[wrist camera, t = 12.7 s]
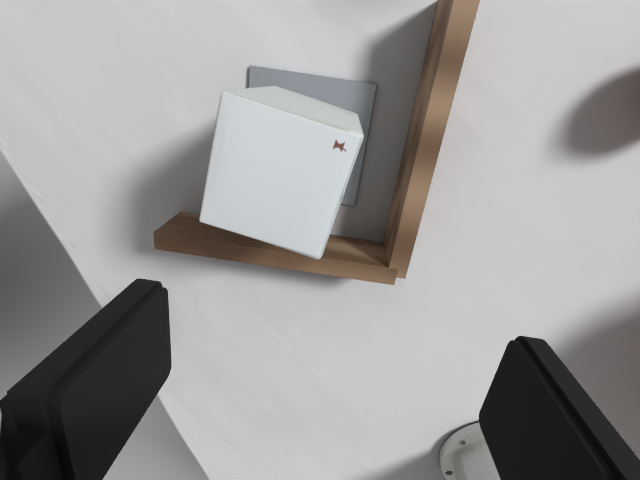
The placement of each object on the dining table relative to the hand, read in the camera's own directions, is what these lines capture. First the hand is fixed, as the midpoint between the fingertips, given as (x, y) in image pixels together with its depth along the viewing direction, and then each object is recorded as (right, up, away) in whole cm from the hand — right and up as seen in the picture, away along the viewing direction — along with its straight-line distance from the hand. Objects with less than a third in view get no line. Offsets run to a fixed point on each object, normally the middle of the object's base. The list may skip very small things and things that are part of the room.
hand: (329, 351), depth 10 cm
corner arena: (-2, +13, +20) cm, 24 cm away
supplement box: (-2, +11, +20) cm, 23 cm away
